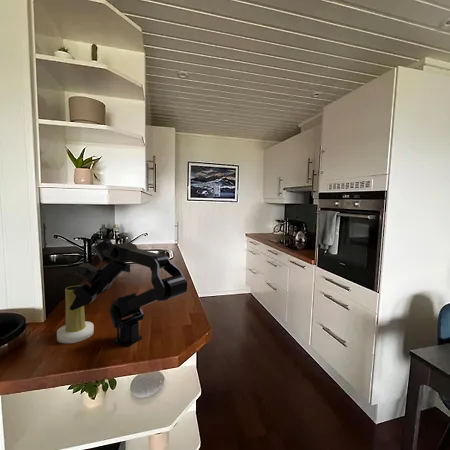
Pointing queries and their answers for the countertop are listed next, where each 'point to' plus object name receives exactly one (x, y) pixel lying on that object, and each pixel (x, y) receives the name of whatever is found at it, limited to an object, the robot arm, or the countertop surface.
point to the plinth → (75, 334)
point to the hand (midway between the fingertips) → (77, 304)
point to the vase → (73, 312)
